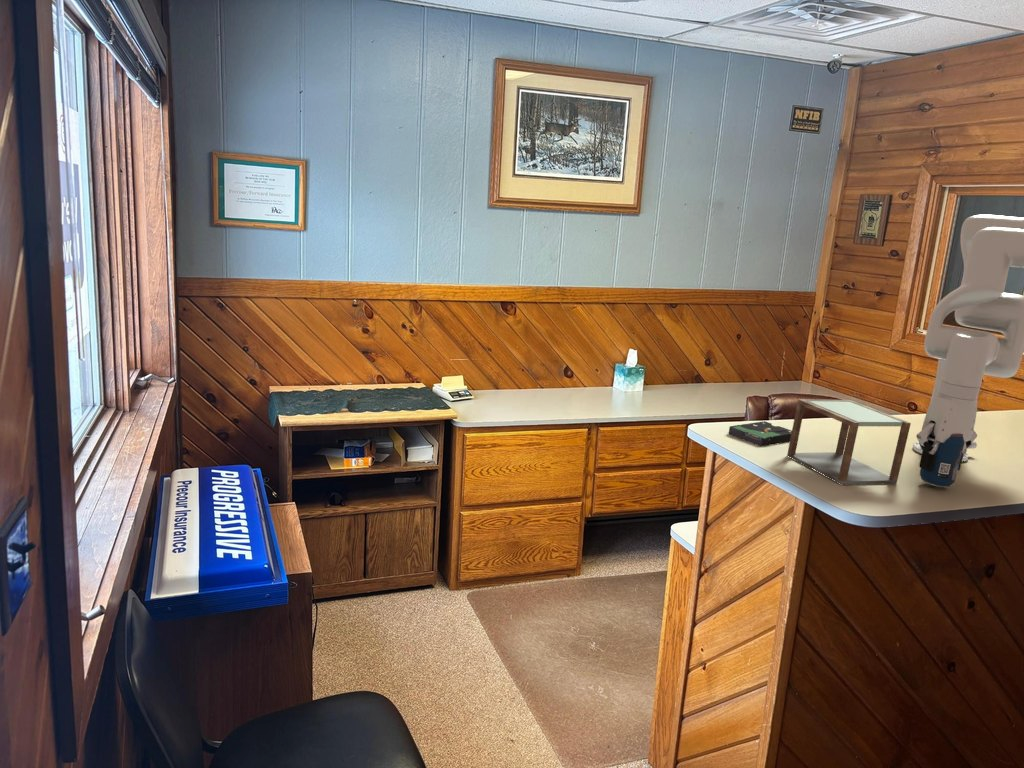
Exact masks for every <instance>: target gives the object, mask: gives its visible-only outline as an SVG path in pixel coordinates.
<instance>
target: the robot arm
mask: <svg viewBox="0 0 1024 768" xmlns="http://www.w3.org/2000/svg"><path fill="white" fill-rule="evenodd" d="M960 250H961V255H962V262H963V276H962V279H961V283H960V286H959V287H957V288H956V289H954V290H952V291H951V292H949V293H948V294H947V295H945V296H944V297H942V299H940V301H939V302H938V303H937V304H936V306H935V307H934V308H933V311H932V313H931V315H930V318H929V321H928V326H927V330H926V332H925V333H926V334H925V337H924V343H923V348H924V352H925V353H926V355H927V356H929V357H931V358H934V359H937V360H938V361H937V370H936V375H935V381H934V385H933V390H932V393H931V397H930V403H929V405H928V408H927V411H926V413H925V416H924V420H923V423H922V427H921V430H920V431H919V432H917V434H916V435H915V436H916V439H917V441H916V442H914V443H913V444H912V449H913V450H914V451H915V452H917V454H921V457H920V459H919V464H918V467H919V468H920V469H921V468H922V469H924V470H927V471H929V472H932V471H933V468H934V464H935V460H936V454H934V453H935V452H936V450H937V449H938V447H939V445H940V443H944V442H945V441H946V440H947V439H948V438H949V437H951V435H963V439H964V442H965V443H964V447H963V451H962V455H961V459H960V463H959V467H958V471H957V472H959V471H960V470H961V466H962V463H964V462H967V461H969V454H968V453H967V452H968V450H970V449H972V450H973V449H976V448H977V446H978V444H977V442H976V441H975V440H976V439H977V437H978V434H977V433H976V431H975V425H976V420H977V412H978V397H979V393H980V390H981V387H982V386H981V385H982V381H983V378H984V375H986V376H989V377H990V376H991V377H996V378H1003V379H1008V378H1013V377H1014V376H1016V374H1017V373H1018V371H1019V368H1020V366H1021V363H1022V358H1023V354H1024V295H1022V294H1018V293H1010V292H1005V289H1006V284H1007V279H1008V275H1009V269H1010V267H1011V268H1021V269H1024V217H1018V216H1006V215H998V214H997V215H996V214H976V215H972V216H968V217H967V218H966V219H964V222H963V223H962V226H961V229H960ZM953 312H954V319H955V322H956V323H957V324H958V325H960V326H963V327H960V326H959V327H958V326H951V325H944V324H943V323H944V320H945V318H946V317H947V316H948V315H949V314H950V313H953ZM965 327H968V328H965ZM970 328H974V329H970ZM977 329H979V330H977ZM983 330H985V331H983ZM989 331H992V332H998V333H1001V334H1002V335H1003V336H1004V337H999V336H996V335H995V334H994V333H991V332H989ZM932 435H933V436H935V439H933V438H931V437H932ZM931 441H932V442H934V444H933V445H932V447H931V445H930V442H931ZM963 461H964V462H963Z"/></svg>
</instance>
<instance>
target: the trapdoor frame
mask: <svg viewBox="0 0 1024 768" xmlns="http://www.w3.org/2000/svg"><path fill="white" fill-rule="evenodd" d="M808 401H838V402H852V403H855V404H857V405H860V406H862V407H865V408H868V409H870V410H873V411H875V412H878V413H880V414H883V415H886V416H888V417H891V418H893V419H896V420H899V421H901V422H902V426H900V430H899V434H898V439H897V442H896V448H895V451H894V456H893V460H892V464H891V469H890V472H889V475H888V474H885V473H884V472H881V471H879V470H877V469H875V468H873V467H872V466H869V465H867V464H864V463H862V462H861V461H859V460H857V459H855V458H853V454H854V448H855V444H856V439H857V434H858V430H859V427H860V426H859V423H858V422H856V421H854V420H851V419H849V418H846V417H844V416H842V415H839V414H837V413H834V412H832V411H830V410H827V409H825V408H822V407H820V406H818V405H815V404H813V403H810V402H808ZM805 408H807V409H809V410H812V411H814V412H816V413H819V414H822V415H823V416H826V417H829V418H831V419H833V420H836V421H837V422H841V425H840V430H839V435H838V440H837V444H836V450H835V452H834V451H833V452H832V451H831V452H830V451H829V452H797V447H798V441H799V437H800V432H801V427H802V422H803V416H804V413H805ZM794 413H795V414H794V418H793V425H792V429H791V430H792V433H791V438H790V442H788V443H789V444H788V449H787V450H788V451H787V455H786V457H788V456H789V457H788V458H790V457H791V458H790V459H792V458H793V459H795V460H796V462H797V461H798V462H797V463H799V462H800V463H799V464H801V463H802V464H801V465H803V464H804V465H803V466H805V465H806V466H808V467H810V468H813V469H815V470H816V471H818V472H820V473H822V474H824V475H825V476H827V477H829V478H831V479H833V480H835V481H836V482H838V483H840V484H856V485H860V484H862V485H889V484H891V485H893V484H896V483H897V484H898V480H899V475H900V471H901V467H902V462H903V459H904V458H903V457H904V454H905V450H906V445H907V440H908V437H909V433H910V428H911V424H912V423H911V422H910V421H906V420H905V419H904V420H903V419H901V418H899V417H896V416H894V415H891V414H889V413H886V412H884V411H881V410H878V409H876V408H872V407H870V406H867V405H865V404H862V403H860V402H856V401H854V400H851V399H811V398H807V399H806V398H803V399H802V398H799V399H797V403H796V409H795V412H794ZM793 459H792V460H793ZM795 460H794V461H795ZM806 466H805V467H806ZM808 467H807V468H808ZM810 468H809V469H810ZM816 471H815V472H816ZM818 472H817V473H818ZM820 473H819V474H820ZM825 476H824V477H825ZM827 477H826V478H827ZM829 478H828V479H829ZM831 479H830V480H831ZM833 480H832V481H833ZM836 482H835V483H836ZM838 483H837V484H838ZM882 483H884V484H882ZM840 484H839V485H840Z"/></svg>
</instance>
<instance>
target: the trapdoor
mask: <svg viewBox="0 0 1024 768" xmlns="http://www.w3.org/2000/svg"><path fill="white" fill-rule="evenodd" d="M808 402H810V403H813V404H815V405H818V406H820V407H822V408H825V409H827V410H830V411H832V412H834V413H837V414H839V415H842V416H844V417H846V418H849V419H851V420H854V421H856V422H858V423H859V426H858V427H901V426H902V422H901V421H899V420H896V419H893V418H891V417H888V416H886V415H883V414H880V413H878V412H875V411H873V410H870V409H868V408H865V407H862V406H860V405H857V404H855V403H852V402H838V401H808Z"/></svg>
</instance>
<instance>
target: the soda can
mask: <svg viewBox="0 0 1024 768" xmlns="http://www.w3.org/2000/svg"><path fill="white" fill-rule="evenodd" d="M931 438H933V439H935V436H933V435H932V437H931ZM964 443H965V442H964V439H963V435H951V437H949V438H948V439H947V440H946V441H945V442H944V443H940V445H939V447H938V449H937V450H936V452H935V453H934V454H936V460H935V464H934V468H933V471H932V472H929V471H927V470H924V469H922V468H920V470H919V475H920V479H921V480H922V481H923V482H924V483H926V484H928V485H931V486H933V487H939V488H949V487H951V486H952V485H953V484H954V483H955V482H956V478H957V474H958V472H959V471H958V467H959V463H960V459H961V455H962V451H963V447H964ZM933 444H934V442H932V441H931V442H930V445H931V447H932V445H933Z"/></svg>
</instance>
